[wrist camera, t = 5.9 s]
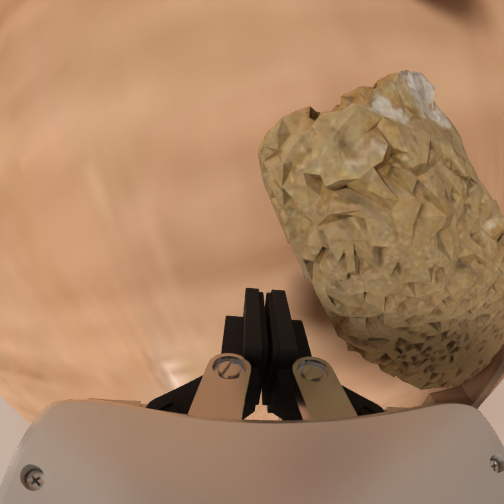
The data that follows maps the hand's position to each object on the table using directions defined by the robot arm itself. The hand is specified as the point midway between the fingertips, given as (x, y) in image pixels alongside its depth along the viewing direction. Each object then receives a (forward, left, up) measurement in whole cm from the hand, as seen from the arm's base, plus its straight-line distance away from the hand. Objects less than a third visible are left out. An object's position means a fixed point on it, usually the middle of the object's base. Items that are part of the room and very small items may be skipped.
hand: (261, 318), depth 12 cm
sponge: (+3, -9, -4) cm, 10 cm away
